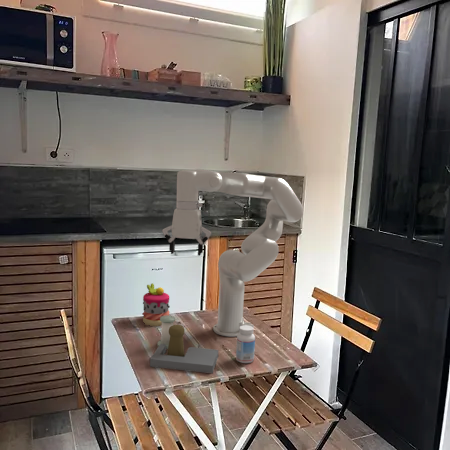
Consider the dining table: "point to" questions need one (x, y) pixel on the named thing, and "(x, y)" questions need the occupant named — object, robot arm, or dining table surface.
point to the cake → (155, 306)
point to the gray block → (186, 359)
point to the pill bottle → (245, 344)
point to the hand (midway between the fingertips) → (186, 253)
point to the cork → (176, 341)
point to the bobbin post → (166, 329)
